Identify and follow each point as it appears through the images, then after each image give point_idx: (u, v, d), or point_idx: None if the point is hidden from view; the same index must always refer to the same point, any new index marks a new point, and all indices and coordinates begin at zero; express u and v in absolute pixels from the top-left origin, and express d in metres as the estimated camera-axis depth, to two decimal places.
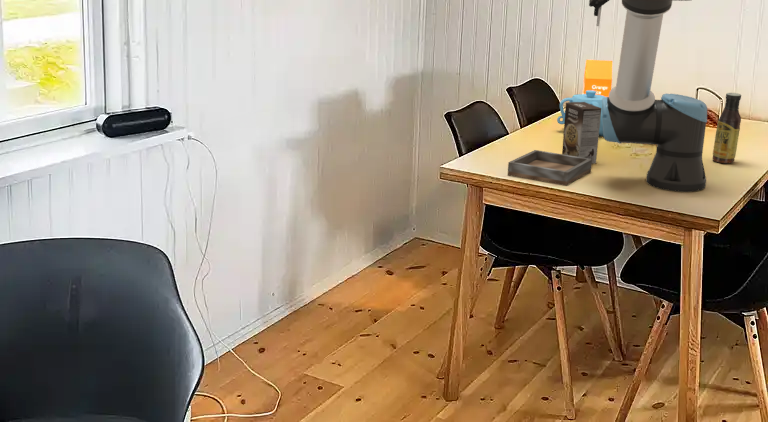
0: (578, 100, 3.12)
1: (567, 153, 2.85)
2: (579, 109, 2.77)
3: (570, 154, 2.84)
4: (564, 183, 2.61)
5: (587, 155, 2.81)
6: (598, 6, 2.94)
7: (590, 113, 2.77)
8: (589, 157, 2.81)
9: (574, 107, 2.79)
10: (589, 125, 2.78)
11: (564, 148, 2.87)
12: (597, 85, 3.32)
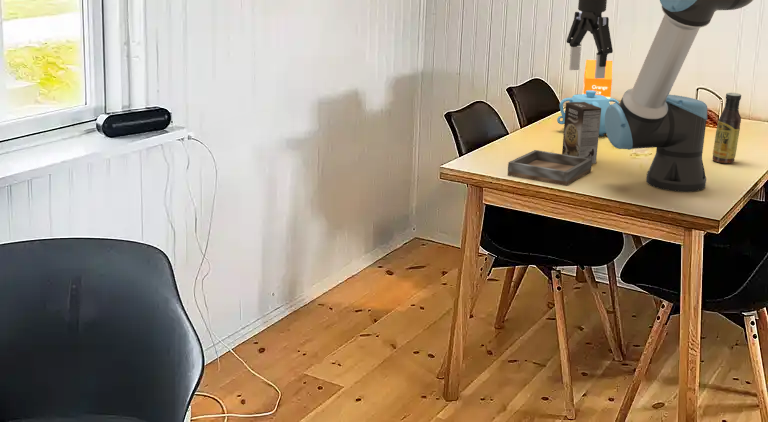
0: (578, 100, 3.12)
1: (567, 153, 2.85)
2: (579, 109, 2.77)
3: (570, 154, 2.84)
4: (564, 183, 2.61)
5: (587, 155, 2.81)
6: (571, 43, 2.82)
7: (590, 113, 2.77)
8: (589, 157, 2.81)
9: (574, 107, 2.79)
10: (589, 125, 2.78)
11: (564, 148, 2.87)
12: (597, 85, 3.32)
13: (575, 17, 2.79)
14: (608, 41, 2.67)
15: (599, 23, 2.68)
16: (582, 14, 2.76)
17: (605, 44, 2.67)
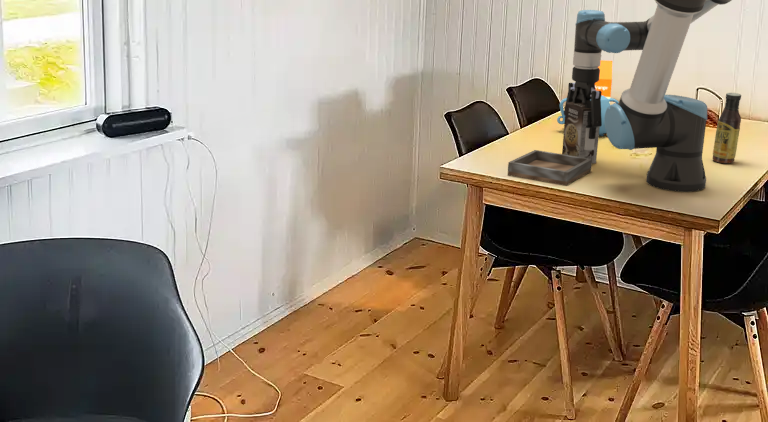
0: None
1: (567, 153, 2.85)
2: (579, 109, 2.77)
3: (570, 154, 2.84)
4: (564, 183, 2.61)
5: (587, 155, 2.81)
6: None
7: None
8: (589, 157, 2.81)
9: (574, 107, 2.79)
10: None
11: (564, 148, 2.87)
12: (597, 85, 3.32)
13: (569, 88, 2.85)
14: (598, 115, 2.74)
15: (592, 96, 2.74)
16: (575, 83, 2.81)
17: (595, 118, 2.74)
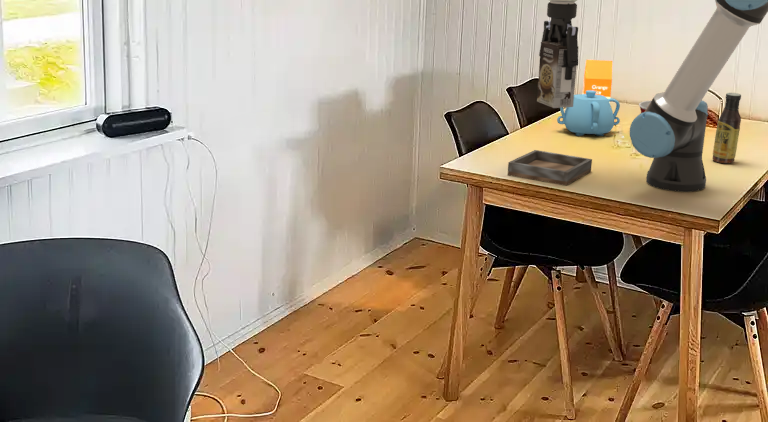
0: (578, 100, 3.12)
1: (543, 96, 2.65)
2: (554, 47, 2.58)
3: (545, 97, 2.64)
4: (564, 183, 2.61)
5: (563, 98, 2.61)
6: None
7: None
8: (565, 100, 2.62)
9: (549, 46, 2.60)
10: None
11: (539, 92, 2.67)
12: (597, 85, 3.32)
13: (545, 26, 2.65)
14: (574, 54, 2.55)
15: (568, 33, 2.54)
16: (551, 20, 2.62)
17: (571, 56, 2.55)
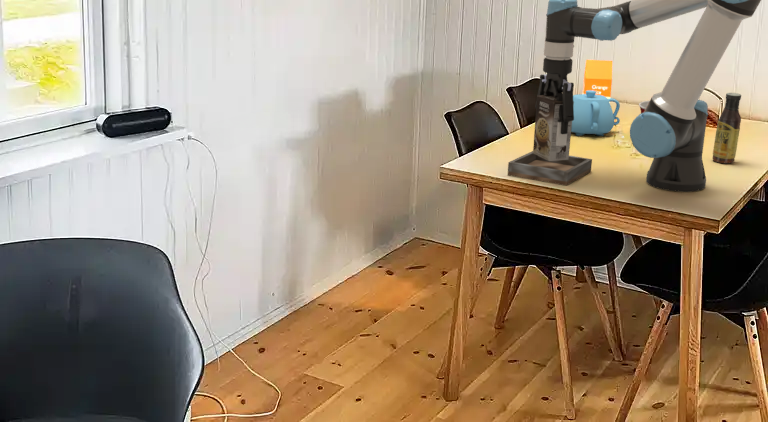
0: (578, 100, 3.12)
1: (539, 148, 2.69)
2: (550, 102, 2.62)
3: (541, 150, 2.68)
4: (564, 183, 2.61)
5: (559, 151, 2.65)
6: None
7: None
8: (561, 153, 2.66)
9: (545, 100, 2.64)
10: None
11: (535, 144, 2.71)
12: (597, 85, 3.32)
13: (541, 80, 2.69)
14: (570, 109, 2.59)
15: (563, 89, 2.58)
16: (547, 75, 2.66)
17: (567, 112, 2.59)
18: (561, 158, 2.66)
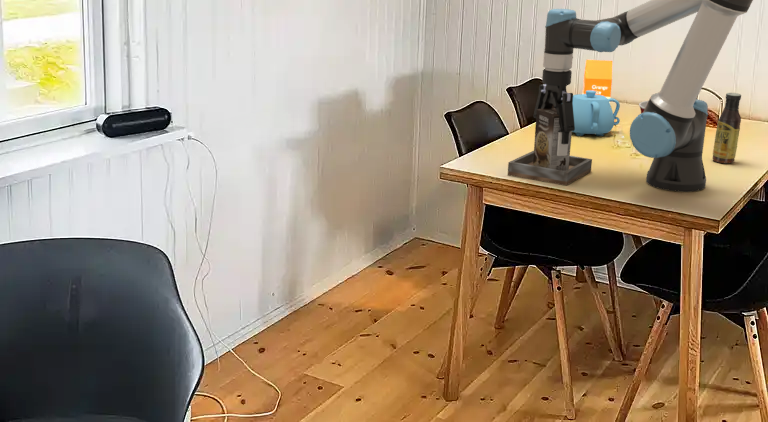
0: (578, 100, 3.12)
1: (538, 162, 2.70)
2: (549, 116, 2.63)
3: (541, 163, 2.69)
4: (564, 183, 2.61)
5: (558, 165, 2.66)
6: None
7: None
8: (561, 166, 2.67)
9: (545, 114, 2.65)
10: None
11: (535, 157, 2.72)
12: (597, 85, 3.32)
13: (540, 90, 2.70)
14: (570, 119, 2.59)
15: (563, 99, 2.59)
16: (546, 86, 2.67)
17: (567, 122, 2.59)
18: None
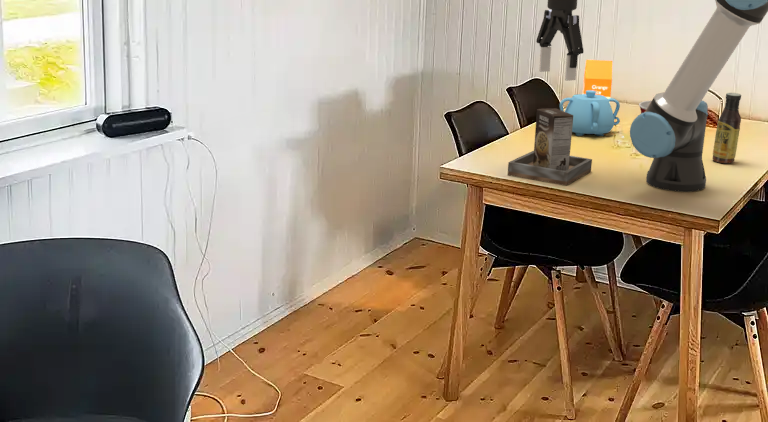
0: (578, 100, 3.12)
1: (538, 162, 2.70)
2: (550, 116, 2.63)
3: (541, 163, 2.69)
4: (564, 183, 2.61)
5: (558, 165, 2.66)
6: (541, 43, 2.67)
7: (561, 121, 2.62)
8: (561, 167, 2.67)
9: (545, 114, 2.65)
10: (561, 133, 2.63)
11: (535, 157, 2.72)
12: (597, 85, 3.32)
13: (545, 16, 2.64)
14: (578, 41, 2.52)
15: (569, 22, 2.53)
16: (552, 12, 2.61)
17: (575, 44, 2.52)
18: None
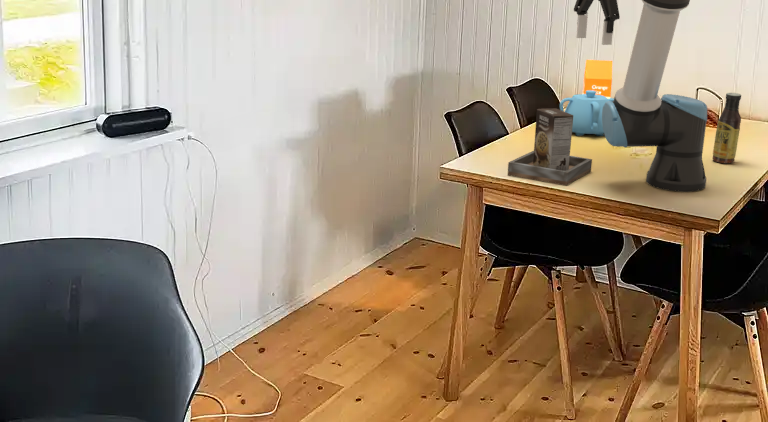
0: (578, 100, 3.12)
1: (538, 162, 2.70)
2: (550, 116, 2.63)
3: (541, 163, 2.69)
4: (564, 183, 2.61)
5: (558, 165, 2.66)
6: (578, 11, 2.88)
7: (561, 121, 2.62)
8: (561, 167, 2.67)
9: (545, 114, 2.65)
10: (561, 133, 2.63)
11: (535, 157, 2.72)
12: (597, 85, 3.32)
13: None
14: (615, 8, 2.73)
15: None
16: None
17: (612, 10, 2.72)
18: None
